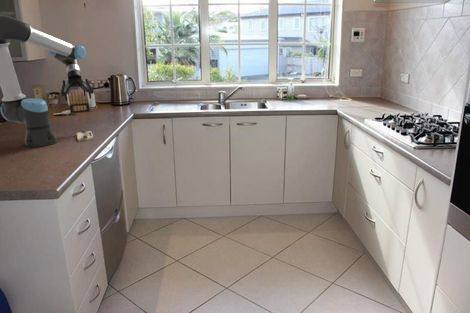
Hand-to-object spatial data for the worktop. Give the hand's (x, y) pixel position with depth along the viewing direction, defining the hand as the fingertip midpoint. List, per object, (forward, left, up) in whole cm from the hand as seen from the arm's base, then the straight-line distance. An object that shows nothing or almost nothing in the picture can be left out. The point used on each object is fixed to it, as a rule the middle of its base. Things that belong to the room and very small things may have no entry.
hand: (79, 103), depth 220 cm
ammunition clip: (0, +3, -6) cm, 6 cm away
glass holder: (+9, +100, -18) cm, 102 cm away
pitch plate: (0, -10, -18) cm, 20 cm away
